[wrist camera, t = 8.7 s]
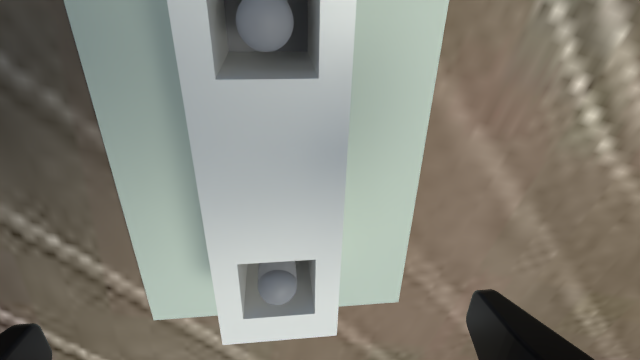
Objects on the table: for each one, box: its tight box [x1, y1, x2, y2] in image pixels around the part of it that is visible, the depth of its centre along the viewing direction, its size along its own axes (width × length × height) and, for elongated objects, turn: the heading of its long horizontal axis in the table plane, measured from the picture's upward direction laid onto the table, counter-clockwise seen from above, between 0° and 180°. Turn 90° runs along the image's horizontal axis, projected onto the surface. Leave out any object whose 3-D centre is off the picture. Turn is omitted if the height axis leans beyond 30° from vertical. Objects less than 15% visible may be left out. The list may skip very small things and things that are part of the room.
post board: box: [64, 0, 449, 320], centre depth 15 cm, size 14×22×6 cm, turn 179°
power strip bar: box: [167, 0, 357, 345], centre depth 15 cm, size 5×16×4 cm, turn 179°
